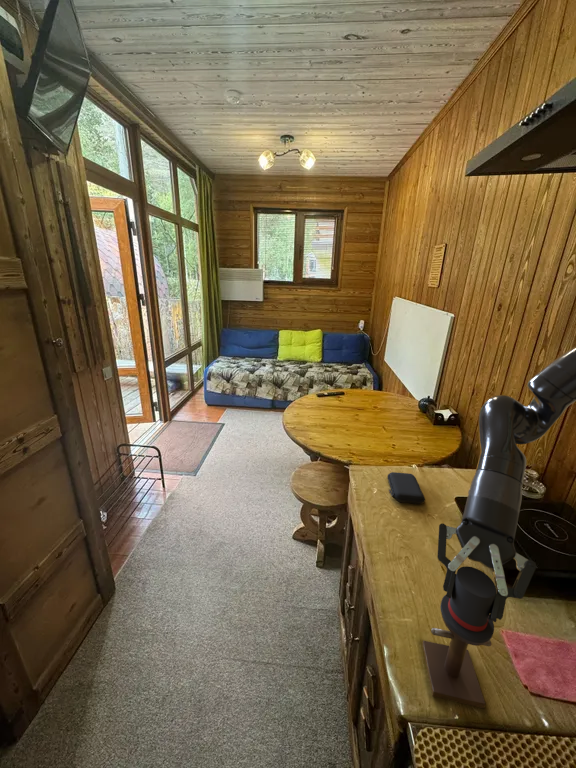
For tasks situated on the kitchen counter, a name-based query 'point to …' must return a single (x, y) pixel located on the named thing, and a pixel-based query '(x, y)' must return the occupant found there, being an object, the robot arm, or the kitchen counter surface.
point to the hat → (470, 605)
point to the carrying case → (405, 488)
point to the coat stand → (452, 669)
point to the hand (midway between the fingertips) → (469, 608)
